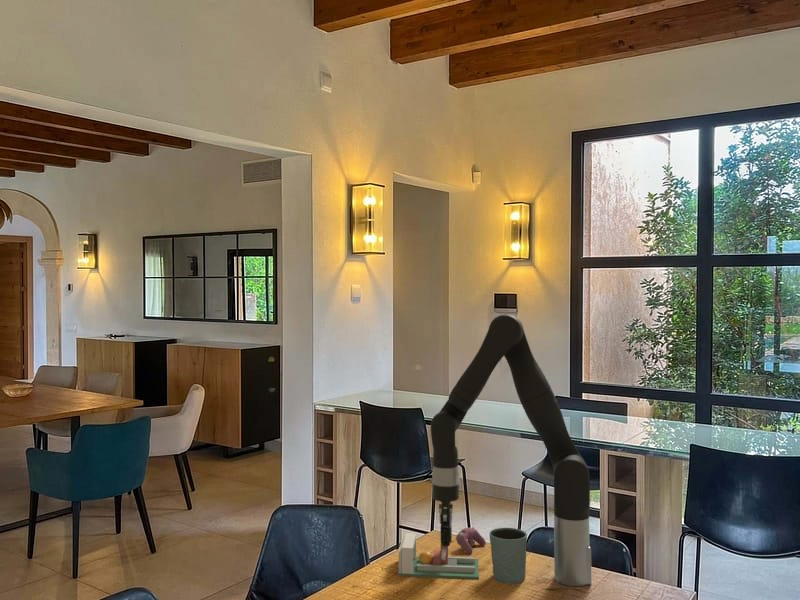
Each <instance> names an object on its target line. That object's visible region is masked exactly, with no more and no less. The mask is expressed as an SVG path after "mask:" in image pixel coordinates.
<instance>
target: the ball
mask: <svg viewBox="0 0 800 600" xmlns="http://www.w3.org/2000/svg"><path fill="white" fill-rule="evenodd" d="M433 556H434V555H433V554H432V553H431V552H430V551H428V550H425V551H422V552H420V553H419V555H418V557H419V561H420V563H421V564H423V565H431V564H432V562H433Z"/></svg>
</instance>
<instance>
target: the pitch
mask: <svg viewBox="0 0 800 600" xmlns="http://www.w3.org/2000/svg"><path fill="white" fill-rule="evenodd" d="M448 559H457V566H449V565H433V562H432V564H431V565H423V564H421V563H420V561H419V556H416V559H413V574H404V573H399V571H398V572H397V576H398V577H415V578H416V577H418V578H440V579H441V578H442V579H446V578H447V579H464V580H466V579H468V580H480V573H479V558H478V559H477V558H475V557H468V556H466V557H464V556H462V557H461V556H448Z"/></svg>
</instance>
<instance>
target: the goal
mask: <svg viewBox="0 0 800 600" xmlns="http://www.w3.org/2000/svg"><path fill="white" fill-rule="evenodd" d="M399 545H400V546H399V548H398V572H399V573H404V574H413V559H416V557H417V532H405V536H404V535H403V536H402V539H401V542H400V544H399Z"/></svg>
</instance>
